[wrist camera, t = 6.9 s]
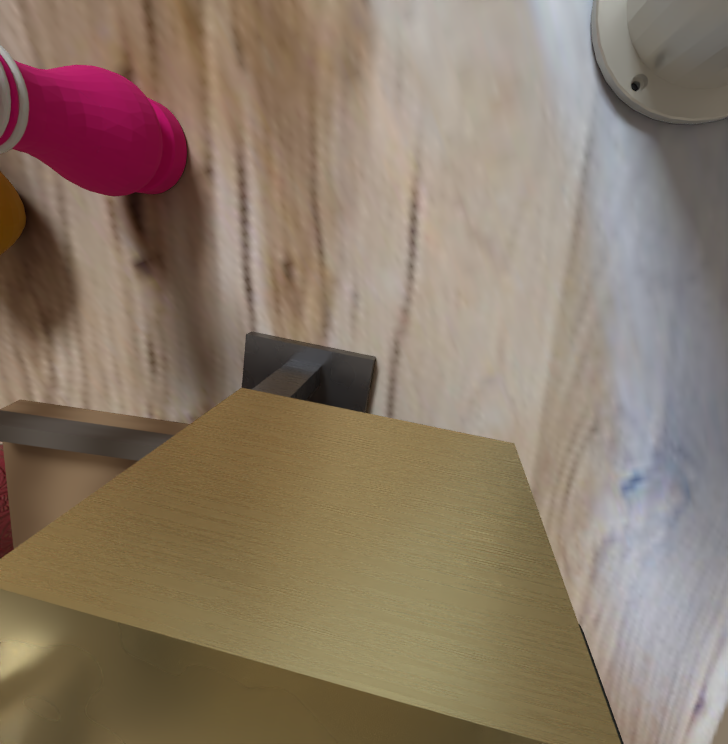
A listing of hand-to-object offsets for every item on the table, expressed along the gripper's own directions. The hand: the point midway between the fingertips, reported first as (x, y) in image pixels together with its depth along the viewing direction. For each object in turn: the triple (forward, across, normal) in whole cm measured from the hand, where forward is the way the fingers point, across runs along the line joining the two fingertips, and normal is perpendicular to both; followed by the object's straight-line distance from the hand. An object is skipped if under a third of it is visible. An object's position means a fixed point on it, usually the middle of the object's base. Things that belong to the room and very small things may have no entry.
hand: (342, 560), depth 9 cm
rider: (+1, 0, 0) cm, 1 cm away
